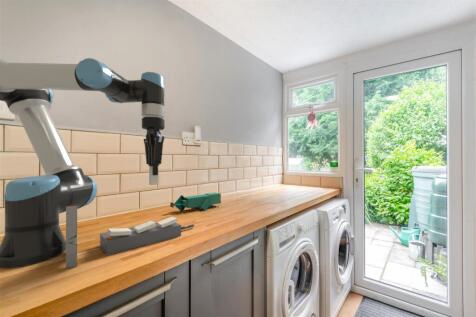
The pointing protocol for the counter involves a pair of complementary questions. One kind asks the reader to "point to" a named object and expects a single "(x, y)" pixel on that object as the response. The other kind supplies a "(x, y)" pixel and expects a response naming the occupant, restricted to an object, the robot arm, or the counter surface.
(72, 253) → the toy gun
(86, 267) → the counter surface
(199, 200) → the toy
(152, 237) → the strip
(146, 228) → the rocker mid
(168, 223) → the rocker right
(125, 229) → the rocker left
